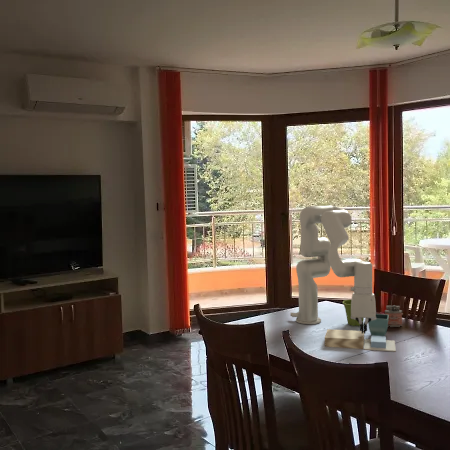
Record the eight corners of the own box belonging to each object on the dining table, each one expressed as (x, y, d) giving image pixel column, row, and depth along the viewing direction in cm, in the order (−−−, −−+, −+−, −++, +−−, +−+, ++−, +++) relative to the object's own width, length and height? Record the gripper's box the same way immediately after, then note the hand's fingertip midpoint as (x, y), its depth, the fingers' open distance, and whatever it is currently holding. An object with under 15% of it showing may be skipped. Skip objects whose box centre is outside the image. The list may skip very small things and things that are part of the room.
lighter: (401, 324, 248) (401, 304, 248) (402, 326, 245) (402, 306, 244) (384, 324, 249) (384, 304, 248) (385, 326, 246) (385, 306, 245)
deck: (324, 346, 218) (324, 337, 217) (327, 337, 230) (327, 329, 230) (363, 349, 213) (363, 339, 213) (364, 340, 225) (364, 331, 225)
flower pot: (388, 333, 235) (388, 314, 234) (388, 339, 226) (388, 319, 226) (369, 332, 237) (368, 313, 237) (367, 337, 229) (367, 317, 228)
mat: (364, 349, 212) (364, 348, 212) (364, 339, 226) (364, 338, 226) (395, 351, 209) (395, 350, 209) (394, 341, 222) (394, 340, 222)
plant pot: (345, 320, 259) (345, 298, 258) (369, 322, 254) (369, 300, 253) (340, 326, 249) (340, 303, 248) (365, 328, 243) (365, 305, 243)
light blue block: (386, 342, 212) (386, 348, 212) (385, 336, 221) (385, 341, 221) (371, 341, 214) (371, 347, 214) (371, 335, 222) (371, 341, 223)
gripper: (344, 291, 216) (345, 334, 217) (381, 292, 212) (381, 336, 213) (345, 288, 223) (346, 329, 225) (381, 289, 219) (381, 331, 220)
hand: (363, 332), depth 219 cm, fingers closed
